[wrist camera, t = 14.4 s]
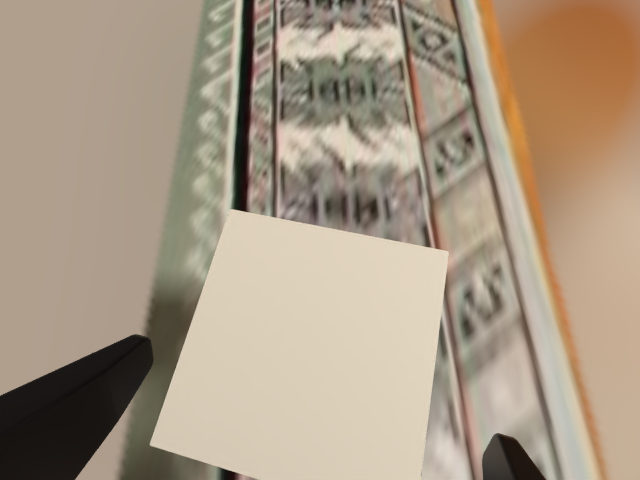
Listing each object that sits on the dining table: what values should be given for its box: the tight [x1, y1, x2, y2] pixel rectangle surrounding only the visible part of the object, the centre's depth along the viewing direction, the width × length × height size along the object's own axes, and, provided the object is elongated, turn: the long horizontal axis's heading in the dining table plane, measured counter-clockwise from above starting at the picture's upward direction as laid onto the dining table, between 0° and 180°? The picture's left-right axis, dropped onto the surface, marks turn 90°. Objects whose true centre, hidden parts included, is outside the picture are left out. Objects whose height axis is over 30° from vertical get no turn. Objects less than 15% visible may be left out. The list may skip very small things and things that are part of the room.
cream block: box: [150, 209, 449, 480], centre depth 13 cm, size 5×5×12 cm
